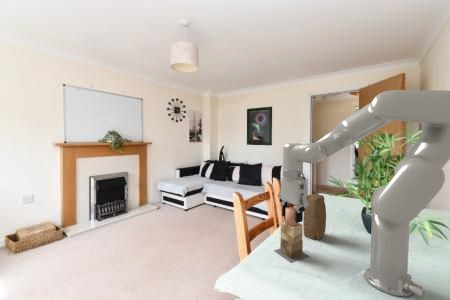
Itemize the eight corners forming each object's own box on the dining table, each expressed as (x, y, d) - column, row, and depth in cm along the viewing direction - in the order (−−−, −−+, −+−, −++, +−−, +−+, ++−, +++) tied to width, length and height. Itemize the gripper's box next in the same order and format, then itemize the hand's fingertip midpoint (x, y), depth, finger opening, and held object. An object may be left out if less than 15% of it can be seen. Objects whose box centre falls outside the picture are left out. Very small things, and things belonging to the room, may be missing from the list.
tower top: (302, 239, 85) (302, 224, 85) (293, 243, 81) (293, 228, 81) (289, 234, 90) (289, 220, 89) (280, 238, 86) (280, 223, 86)
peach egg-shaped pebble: (301, 225, 84) (301, 210, 84) (291, 227, 82) (292, 211, 82) (291, 220, 89) (292, 206, 88) (282, 222, 86) (282, 208, 86)
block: (316, 242, 96) (317, 198, 95) (301, 236, 101) (302, 195, 101) (327, 236, 102) (329, 194, 102) (313, 230, 108) (314, 191, 107)
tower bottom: (302, 255, 84) (302, 240, 84) (291, 258, 82) (291, 243, 81) (291, 248, 90) (291, 234, 89) (280, 251, 87) (280, 237, 87)
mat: (310, 257, 84) (310, 256, 83) (291, 264, 79) (291, 262, 79) (291, 246, 92) (291, 245, 92) (273, 251, 88) (273, 250, 88)
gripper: (317, 177, 78) (316, 224, 79) (284, 171, 94) (283, 211, 94) (303, 178, 75) (302, 228, 76) (271, 172, 90) (270, 213, 91)
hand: (291, 218), depth 85 cm, fingers open, 6 cm apart
